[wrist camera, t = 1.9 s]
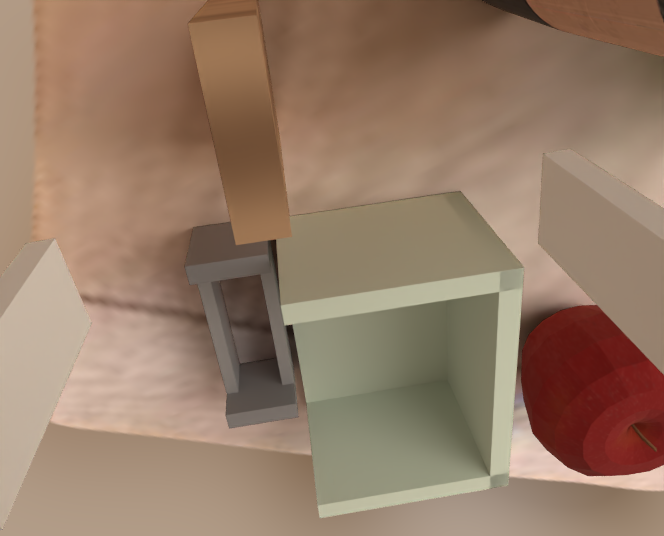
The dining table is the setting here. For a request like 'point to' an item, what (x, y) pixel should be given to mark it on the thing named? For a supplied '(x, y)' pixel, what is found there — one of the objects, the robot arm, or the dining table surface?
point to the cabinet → (379, 345)
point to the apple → (593, 394)
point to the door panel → (242, 117)
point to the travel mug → (598, 19)
